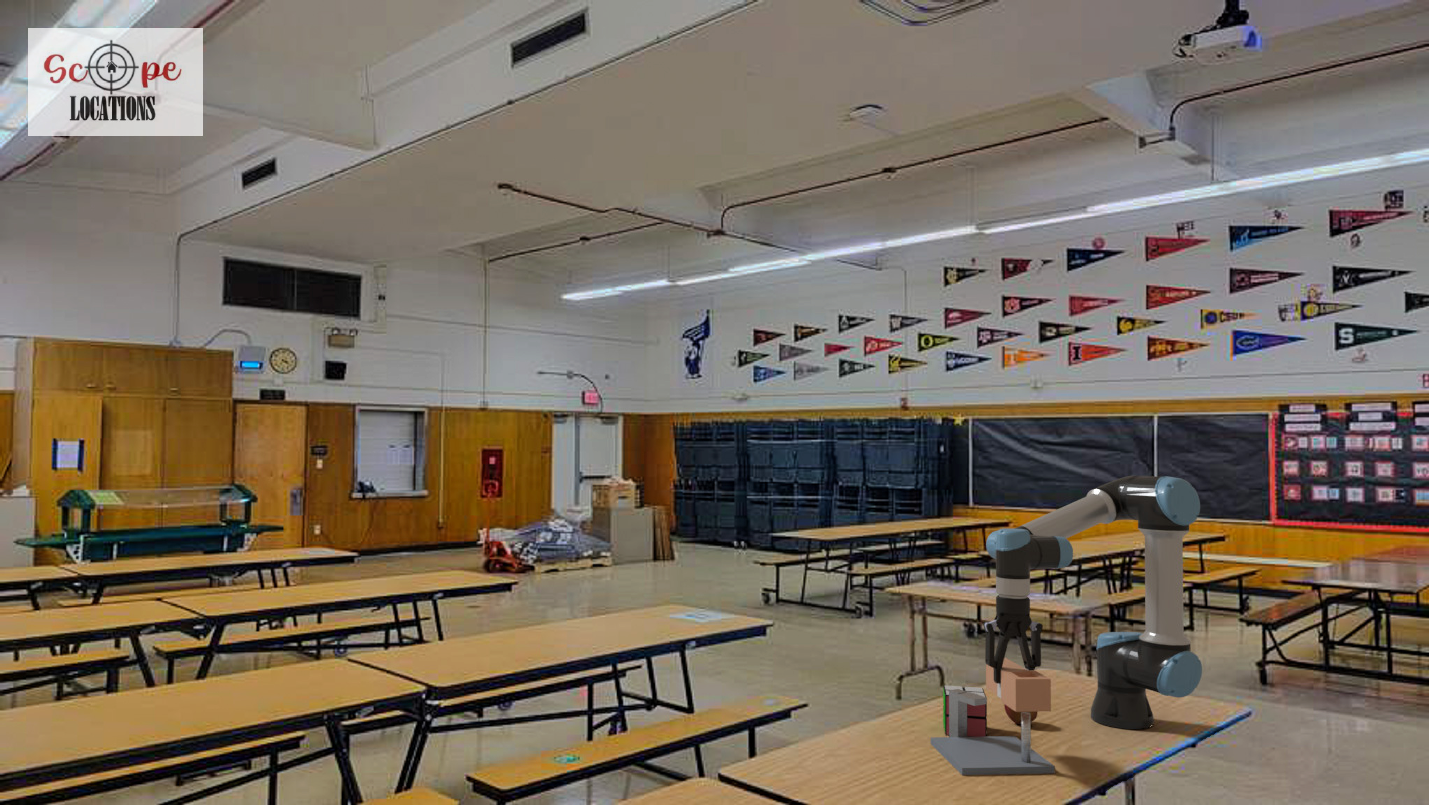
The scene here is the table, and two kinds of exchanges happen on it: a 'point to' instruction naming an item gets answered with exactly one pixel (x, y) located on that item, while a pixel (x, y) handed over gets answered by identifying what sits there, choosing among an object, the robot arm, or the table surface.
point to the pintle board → (989, 755)
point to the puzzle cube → (974, 713)
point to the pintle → (1025, 737)
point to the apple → (1018, 715)
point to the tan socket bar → (1021, 687)
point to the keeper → (961, 710)
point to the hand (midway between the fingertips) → (1013, 697)
